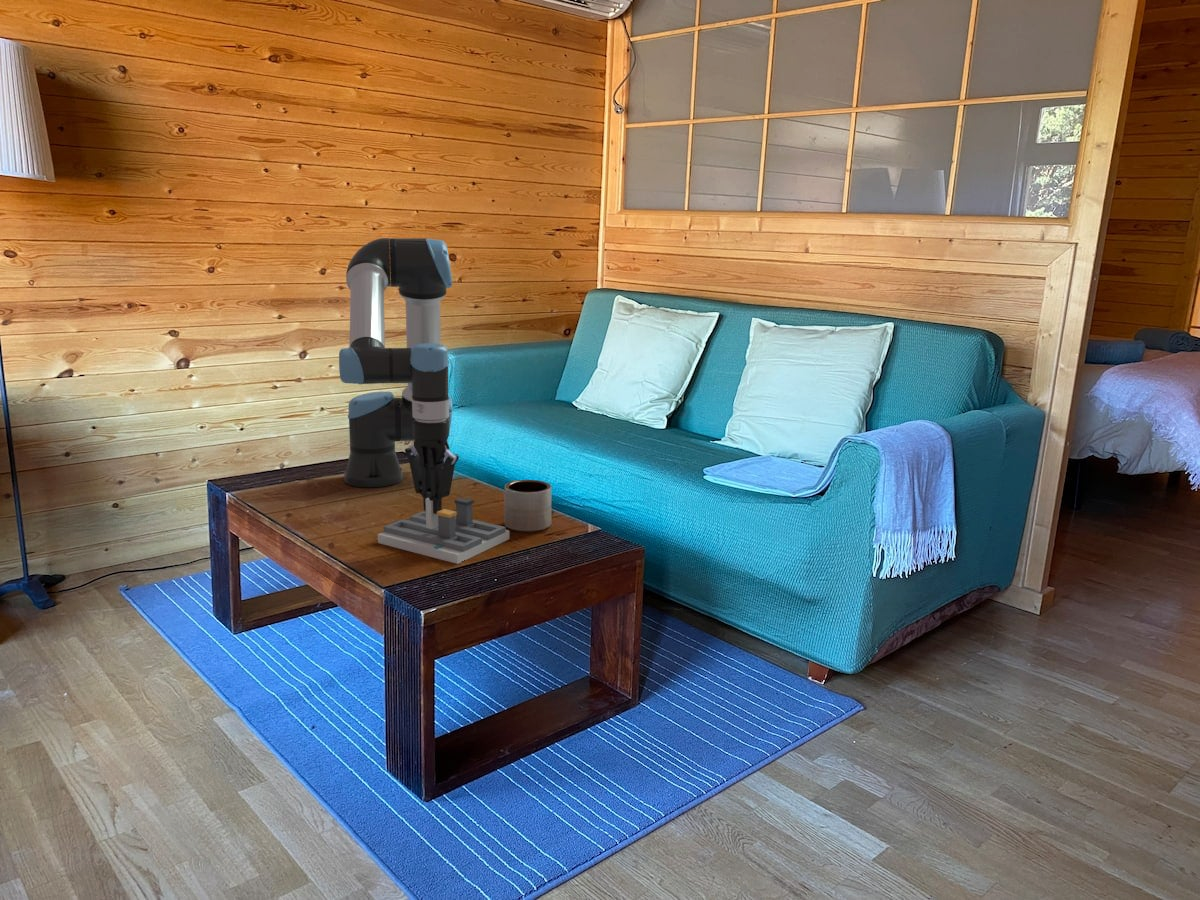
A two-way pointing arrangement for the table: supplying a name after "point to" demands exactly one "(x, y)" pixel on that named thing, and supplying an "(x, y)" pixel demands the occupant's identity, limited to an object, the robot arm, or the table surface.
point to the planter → (527, 505)
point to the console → (427, 542)
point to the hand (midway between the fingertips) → (433, 526)
